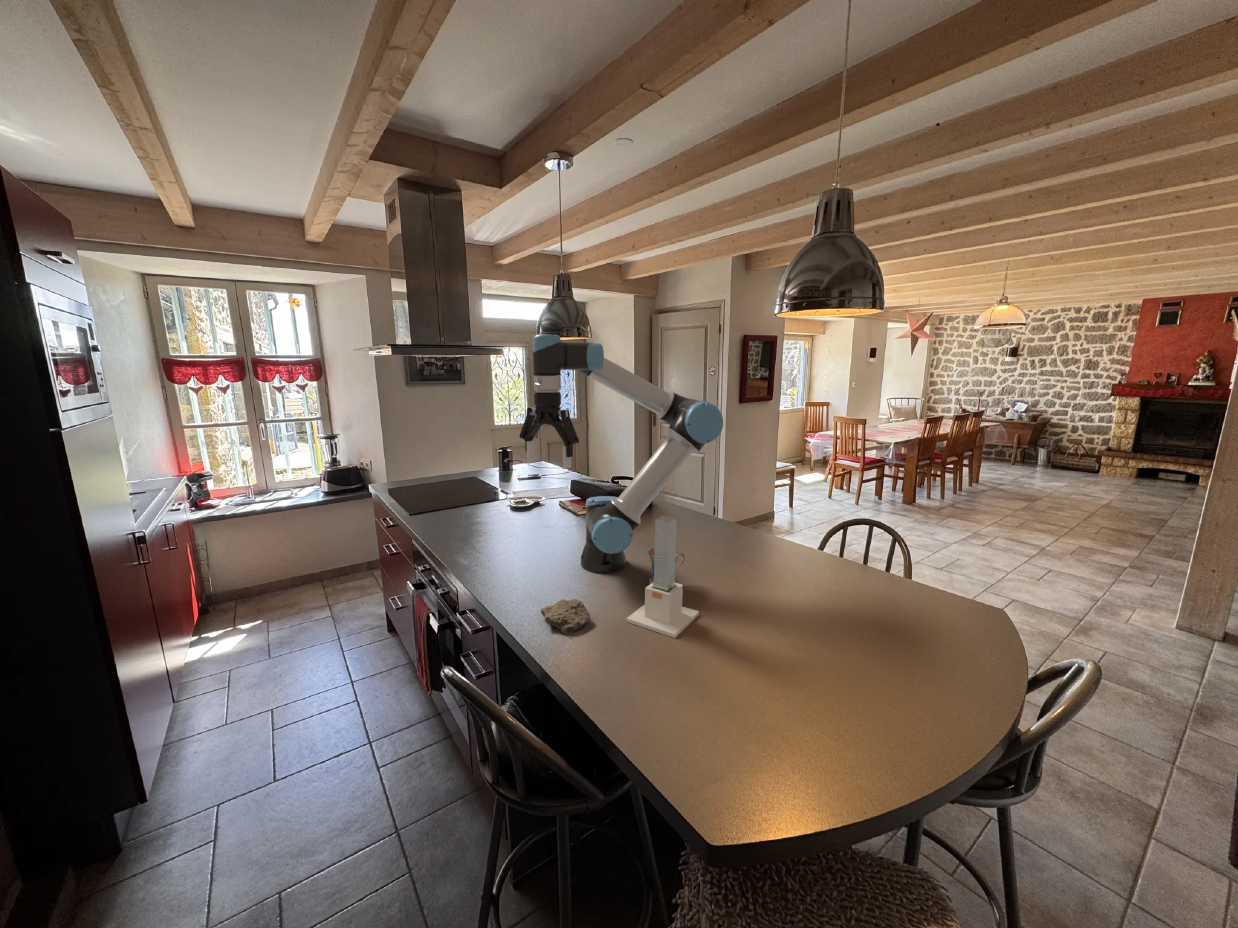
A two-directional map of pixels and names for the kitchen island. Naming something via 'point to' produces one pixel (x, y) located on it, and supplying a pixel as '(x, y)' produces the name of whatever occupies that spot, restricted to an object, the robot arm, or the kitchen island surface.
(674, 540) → the column
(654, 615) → the stand
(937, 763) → the kitchen island surface
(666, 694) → the kitchen island surface
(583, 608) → the rock
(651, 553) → the mug
